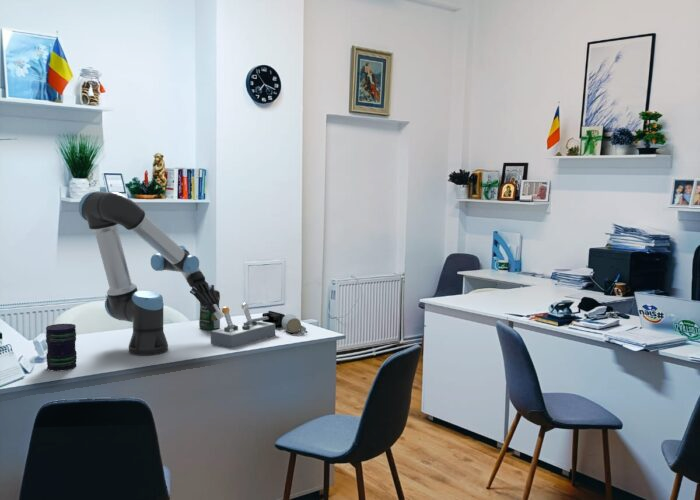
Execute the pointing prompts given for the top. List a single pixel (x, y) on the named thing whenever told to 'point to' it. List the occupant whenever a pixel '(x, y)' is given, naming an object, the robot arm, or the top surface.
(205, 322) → the coffee jar
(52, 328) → the storage jar
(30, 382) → the top surface
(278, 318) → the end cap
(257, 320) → the rocker grey
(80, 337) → the top surface
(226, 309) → the lever orange
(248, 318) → the silver ball lever
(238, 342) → the console
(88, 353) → the top surface
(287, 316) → the ceramic mug
